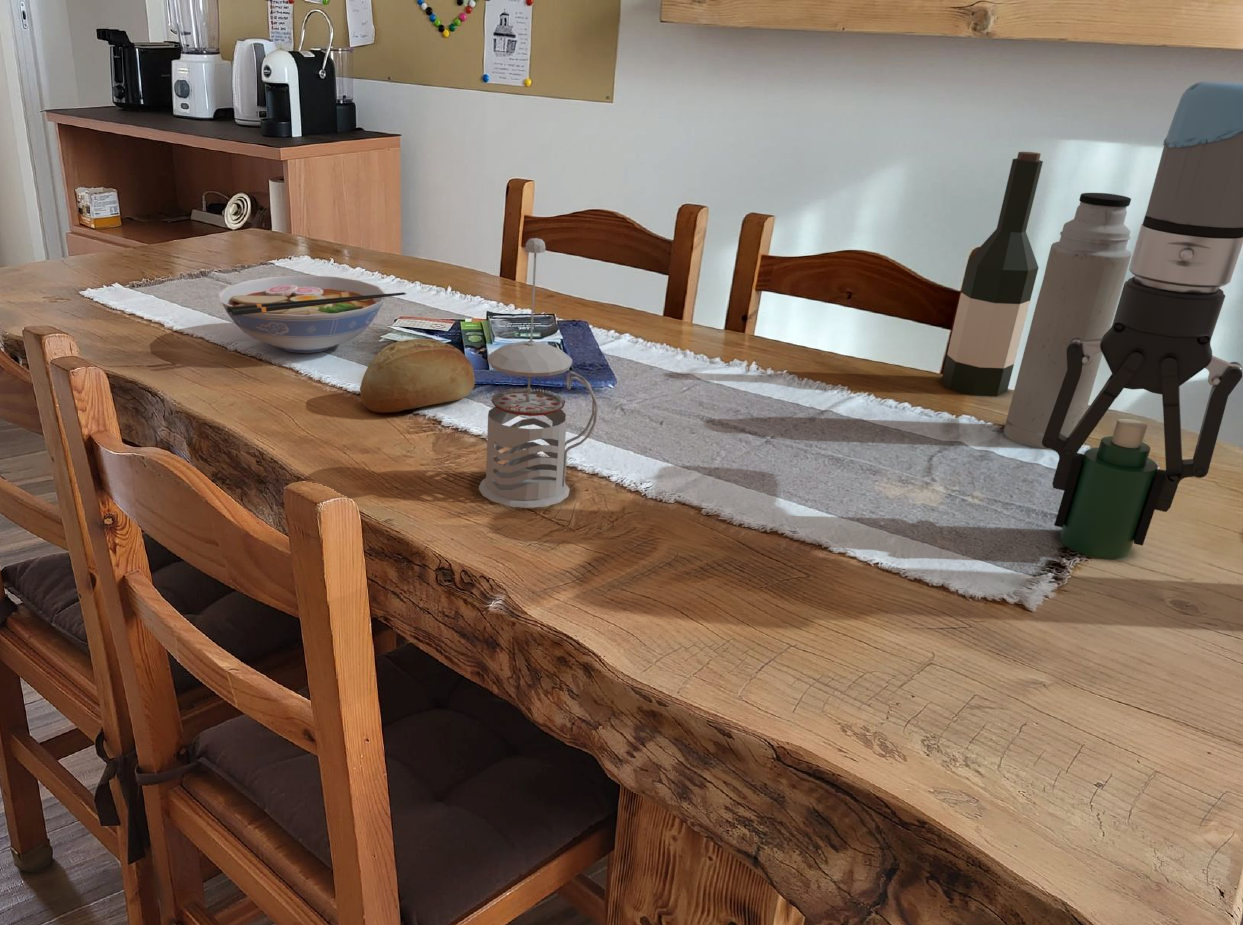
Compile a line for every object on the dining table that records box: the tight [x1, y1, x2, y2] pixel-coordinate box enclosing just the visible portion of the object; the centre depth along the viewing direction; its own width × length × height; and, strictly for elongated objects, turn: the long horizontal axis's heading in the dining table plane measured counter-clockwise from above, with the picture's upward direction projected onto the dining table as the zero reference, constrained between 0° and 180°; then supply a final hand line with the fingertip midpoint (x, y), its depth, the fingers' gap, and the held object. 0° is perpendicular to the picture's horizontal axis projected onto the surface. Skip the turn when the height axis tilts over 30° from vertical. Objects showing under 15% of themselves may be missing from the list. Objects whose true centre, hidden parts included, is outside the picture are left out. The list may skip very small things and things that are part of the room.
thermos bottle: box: [1003, 192, 1133, 450], centre depth 122 cm, size 8×8×28 cm
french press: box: [478, 237, 599, 509], centre depth 103 cm, size 10×12×25 cm
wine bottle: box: [940, 151, 1044, 398], centre depth 138 cm, size 8×8×30 cm
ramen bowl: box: [217, 274, 407, 354], centre depth 149 cm, size 25×23×8 cm
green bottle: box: [1059, 418, 1159, 560], centre depth 99 cm, size 6×6×12 cm
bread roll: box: [359, 338, 476, 414], centre depth 129 cm, size 10×15×8 cm, turn 124°
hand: (1098, 529), depth 101 cm, fingers closed on green bottle, 6 cm apart
